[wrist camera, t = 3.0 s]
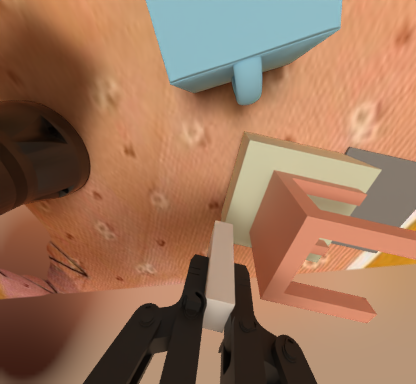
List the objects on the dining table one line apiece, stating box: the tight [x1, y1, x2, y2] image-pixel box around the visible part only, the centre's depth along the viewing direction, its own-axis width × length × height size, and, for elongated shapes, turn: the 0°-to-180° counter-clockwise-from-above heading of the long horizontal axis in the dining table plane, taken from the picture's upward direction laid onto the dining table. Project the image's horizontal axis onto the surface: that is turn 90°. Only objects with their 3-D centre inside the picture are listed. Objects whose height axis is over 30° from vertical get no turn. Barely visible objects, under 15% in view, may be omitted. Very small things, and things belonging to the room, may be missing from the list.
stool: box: [249, 170, 416, 323], centre depth 17 cm, size 10×9×9 cm
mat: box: [331, 147, 416, 253], centre depth 27 cm, size 14×16×1 cm
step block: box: [221, 131, 382, 262], centre depth 24 cm, size 14×14×7 cm
